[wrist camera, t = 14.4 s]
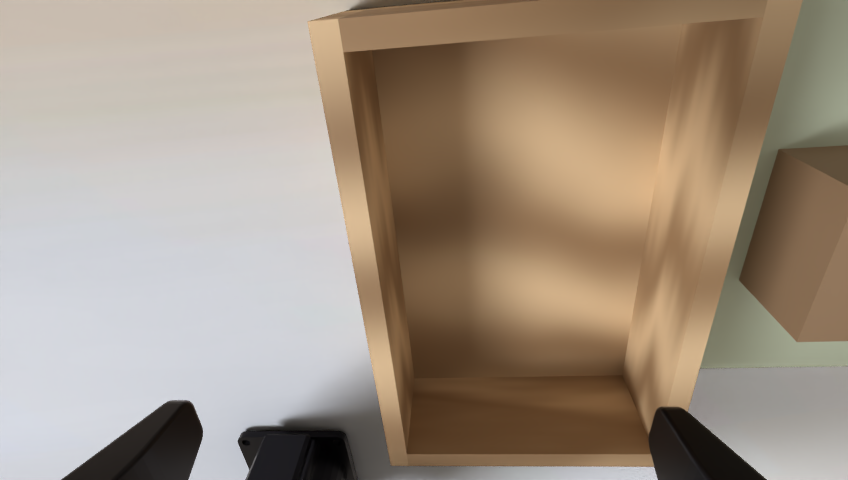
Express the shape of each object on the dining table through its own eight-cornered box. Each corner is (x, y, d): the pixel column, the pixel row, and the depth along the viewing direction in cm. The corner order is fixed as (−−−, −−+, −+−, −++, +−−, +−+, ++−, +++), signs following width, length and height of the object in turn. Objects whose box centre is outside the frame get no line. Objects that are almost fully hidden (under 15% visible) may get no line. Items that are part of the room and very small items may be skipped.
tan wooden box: (638, 377, 24) (728, 572, 16) (402, 381, 25) (377, 564, 17) (757, -234, 13) (1255, -587, 5) (319, -176, 14) (139, -383, 6)
